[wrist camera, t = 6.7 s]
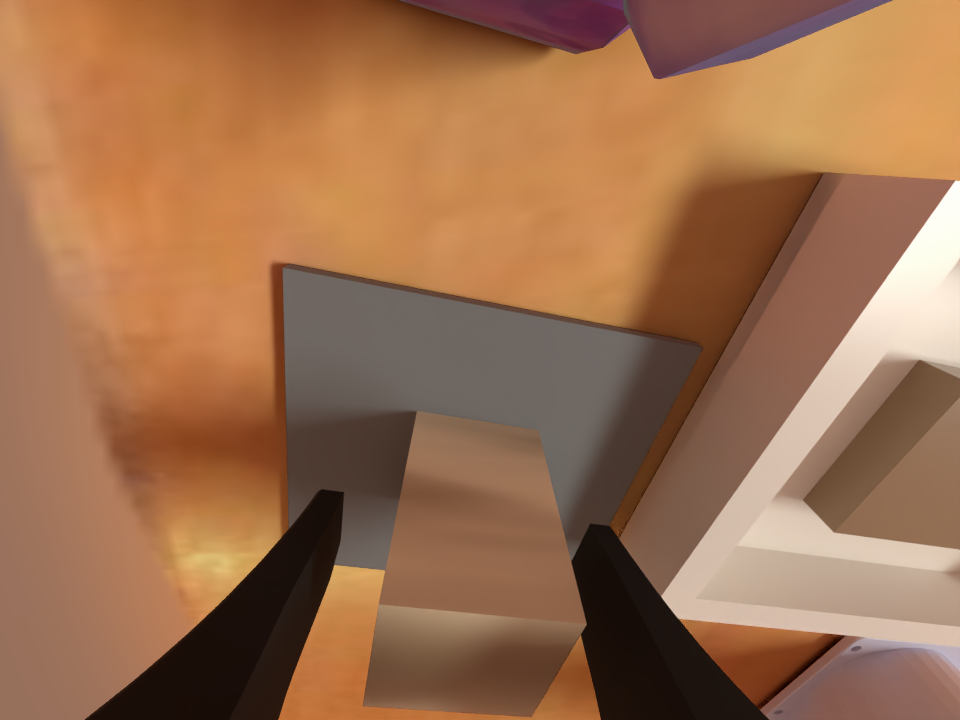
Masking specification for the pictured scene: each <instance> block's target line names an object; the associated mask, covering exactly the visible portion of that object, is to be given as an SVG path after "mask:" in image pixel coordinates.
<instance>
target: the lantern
mask: <svg viewBox="0 0 960 720" xmlns="http://www.w3.org/2000/svg"><path fill="white" fill-rule="evenodd" d="M399 1H402V2H406V3H409V4H412V5H415V6H419V7H422V8H425V9H429V10H432V11H435V12H439V13H442V14H445V15H448V16H452V17H455V18H458V19H462V20H465V21H468V22H472V23H475V24H478V25H481V26H485V27H488V28H491V29H495V30H498V31H501V32H504V33H508V34H511V35H514V36H518V37H521V38H524V39H528V40H531V41H534V42H537V43H541V44H544V45H547V46H551V47H554V48H557V49H561V50H564V51H567V52H570V53H574V54H578V53H582V52H586V51H591V50H595V49H599V48H603V47H604V46H606V45H607V44H609V43H610V42H611V41H613V40H614V39H616V38H617V37H618V36H620V35H621V34H623V33H624V32H625V31H627V30H628V29H629V28H631V29H632V31H633V33H634V36H635V38H636V40H637V42H638V44H639V46H640V49H641V51H642V53H643V55H644V57H645V60H646V62H647V64H648V66H649V68H650V70H651V73H652V75H653V77H654V78H655V79H663V78H667V77H671V76H675V75H680V74H684V73H688V72H692V71H697V70H701V69H705V68H709V67H714V66H718V65H723V64H728V63H732V62H737V61H741V60H746V59H750V58H754V57H756V56H758V55H761V54H763V53H766V52H768V51H771V50H773V49H775V48H778V47H780V46H783V45H785V44H788V43H790V42H792V41H795V40H797V39H800V38H802V37H805V36H807V35H809V34H812V33H814V32H817V31H819V30H822V29H824V28H826V27H829V26H831V25H834V24H836V23H839V22H841V21H843V20H846V19H848V18H851V17H853V16H856V15H858V14H860V13H863V12H865V11H868V10H870V9H873V8H875V7H877V6H880V5H882V4H885V3H887V2H890V1H892V0H399Z"/></svg>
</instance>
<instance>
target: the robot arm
mask: <svg viewBox="0 0 960 720" xmlns="http://www.w3.org/2000/svg"><path fill="white" fill-rule="evenodd" d="M343 502H344V492H340V491H332V490H324V489H321V490H319V491H318V492H317V493H316V494H315V496H314V497H313V499H312V500H311V501H310V503H309V504H308V505H307V507H306V508H305V509H304V511H303V512H302V513H301V515H300V516H299V517H298V518H297V520H296V521H295V522H294V523H293V525H292V526H291V527H290V528H289V529H288V531H287V532H286V533H285V534H284V535H283V537H282V538H281V539H280V540H279V541H278V542H277V543H276V545H275V546H274V547H273V548H272V549H271V550H270V551H269V553H268V554H267V555H266V556H265V557H264V558H263V559H262V560H261V562H260V563H259V564H258V565H257V566H256V567H255V568H254V569H253V570H252V571H251V572H250V573H249V574H248V575H247V576H246V577H245V578H244V579H243V580H242V582H241V583H240V584H239V585H238V586H237V587H236V588H235V589H234V590H233V591H232V592H231V593H230V594H229V595H228V596H227V597H226V598H225V599H224V600H223V601H222V602H221V603H220V604H219V605H218V606H217V607H216V608H215V609H214V610H213V611H212V612H211V613H209V614H208V615H207V616H206V617H205V618H204V619H203V620H202V621H201V622H200V623H199V624H198V625H197V626H196V627H195V628H193V629H192V630H191V631H190V632H189V633H188V634H187V635H186V636H185V637H184V638H182V639H181V640H180V641H179V642H178V643H177V644H176V645H175V646H173V647H172V648H171V649H170V650H169V651H168V652H167V653H165V654H164V655H163V656H162V657H161V658H160V659H158V661H156V662H155V663H154V664H153V665H152V666H150V667H149V668H148V669H147V670H146V671H145V672H143V673H142V674H141V675H140V676H139V677H138V678H136V679H135V680H134V681H133V682H131V683H130V684H129V685H128V686H127V687H125V688H124V689H123V690H121V691H120V692H119V693H118V694H116V695H115V696H114V697H113V698H111V699H110V700H109V701H108V702H106V703H105V704H104V705H103V706H101V707H100V708H99V709H98V710H96V711H95V712H94V713H93V714H91V715H90V716H89V717H87V718H86V719H85V720H278V719H279V716H280V712H281V709H282V706H283V703H284V699H285V696H286V693H287V690H288V687H289V685H290V682H291V679H292V676H293V673H294V671H295V668H296V666H297V663H298V660H299V658H300V655H301V653H302V650H303V648H304V645H305V642H306V640H307V637H308V635H309V632H310V630H311V627H312V625H313V622H314V619H315V617H316V614H317V612H318V609H319V607H320V604H321V601H322V599H323V596H324V594H325V591H326V588H327V586H328V583H329V581H330V577H331V574H332V571H333V567H334V564H335V560H336V556H337V553H338V549H339V546H340V542H341V532H342V517H343ZM571 563H572V567H573V571H574V575H575V579H576V583H577V587H578V591H579V595H580V599H581V603H582V607H583V611H584V615H585V619H586V623H587V625H586V627H585V628H584V630H583V632H582V633H581V637H582V641H583V645H584V649H585V653H586V657H587V661H588V665H589V669H590V673H591V677H592V681H593V685H594V689H595V693H596V698H597V703H598V707H599V712H600V717H601V720H960V647H958V646H948V645H938V644H928V643H918V642H908V641H898V640H888V639H877V638H867V637H857V636H847V635H846V636H845V637H844V638H842V639H841V640H840V641H839V642H838V643H837V644H835V645H834V646H833V647H832V648H831V649H830V650H829V651H827V652H826V653H825V654H824V655H823V656H822V657H820V658H819V659H818V660H817V661H816V662H815V663H813V664H812V665H811V666H810V667H809V668H808V669H806V670H805V671H804V672H803V673H802V674H801V675H799V676H798V677H797V678H796V679H795V680H794V681H792V682H791V683H790V684H789V685H788V686H787V687H786V688H784V689H783V690H782V691H781V692H780V693H779V694H777V695H776V696H775V697H774V698H773V699H772V700H770V701H769V702H768V703H767V704H766V705H765V706H763V707H762V708H761V709H760V710H759V709H758V708H757V707H756V706H755V705H754V704H753V703H752V702H751V701H750V700H749V699H748V698H747V697H746V695H745V694H744V693H743V692H742V691H741V690H740V689H739V688H738V687H737V686H736V685H735V684H734V683H733V682H732V681H731V679H730V678H729V677H728V676H727V675H726V674H725V673H724V672H723V671H722V670H721V668H720V667H719V666H718V665H717V664H716V663H715V662H714V661H713V660H712V659H711V657H710V656H709V655H708V654H707V653H706V652H705V650H704V649H703V648H702V647H701V646H700V645H699V643H698V642H697V641H696V640H695V639H694V637H693V636H692V635H691V634H690V633H689V631H688V630H687V629H686V628H685V626H684V625H683V624H682V623H681V622H680V620H679V619H678V618H677V617H676V615H675V614H674V613H673V612H672V610H671V609H670V608H669V606H668V605H667V604H666V603H665V601H664V600H663V599H662V597H661V596H660V595H659V593H658V592H657V591H656V589H655V588H654V587H653V585H652V584H651V583H650V581H649V580H648V579H647V577H646V576H645V574H644V573H643V572H642V570H641V569H640V568H639V566H638V565H637V563H636V562H635V561H634V559H633V558H632V556H631V555H630V554H629V552H628V551H627V549H626V548H625V547H624V545H623V544H622V542H621V541H620V540H619V538H618V537H617V535H616V534H615V533H614V531H613V530H612V529H611V527H610V526H606V525H599V524H591V523H590V525H589V527H588V529H587V531H586V533H585V535H584V537H583V539H582V541H581V543H580V545H579V547H578V549H577V551H576V553H575V555H574V557H573V559H572V561H571Z"/></svg>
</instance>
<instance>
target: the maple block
mask: <svg viewBox="0 0 960 720" xmlns="http://www.w3.org/2000/svg"><path fill="white" fill-rule="evenodd" d="M586 625H587V623H586V619H585V615H584V611H583V607H582V603H581V599H580V595H579V591H578V587H577V583H576V579H575V575H574V571H573V567H572V563H571V559H570V555H569V551H568V547H567V543H566V539H565V535H564V531H563V527H562V523H561V519H560V515H559V511H558V507H557V503H556V499H555V495H554V491H553V487H552V483H551V479H550V475H549V471H548V467H547V463H546V459H545V455H544V451H543V447H542V443H541V439H540V435H539V431H538V430H535V429H529V428H522V427H516V426H510V425H503V424H497V423H490V422H484V421H478V420H471V419H465V418H459V417H452V416H446V415H440V414H433V413H427V412H421V411H417V414H416V419H415V424H414V429H413V434H412V439H411V444H410V449H409V454H408V459H407V464H406V469H405V474H404V479H403V484H402V489H401V495H400V500H399V505H398V510H397V515H396V520H395V525H394V530H393V535H392V540H391V545H390V550H389V555H388V560H387V565H386V570H385V575H384V581H383V586H382V591H381V596H380V601H379V606H378V613H377V619H376V625H375V632H374V638H373V644H372V651H371V657H370V663H369V670H368V676H367V682H366V689H365V695H364V702H363V706H368V707H383V708H399V709H414V710H429V711H445V712H460V713H476V714H491V715H507V716H522V717H532V715H533V714H534V712H535V710H536V708H537V707H538V705H539V703H540V702H541V700H542V698H543V697H544V695H545V693H546V692H547V690H548V688H549V687H550V685H551V683H552V682H553V680H554V678H555V677H556V675H557V673H558V672H559V670H560V668H561V667H562V665H563V663H564V662H565V660H566V658H567V657H568V655H569V653H570V652H571V650H572V648H573V647H574V645H575V643H576V642H577V640H578V638H579V637H580V635H581V633H582V632H583V630H584V628H585V627H586Z"/></svg>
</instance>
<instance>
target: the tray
mask: <svg viewBox="0 0 960 720" xmlns="http://www.w3.org/2000/svg"><path fill="white" fill-rule="evenodd" d="M619 540H620V541H621V542H622V544H623V545H624V547H625V548H626V549H627V551H628V552H629V554H630V555H631V556H632V558H633V559H634V561H635V562H636V563H637V565H638V566H639V568H640V569H641V570H642V572H643V573H644V574H645V576H646V577H647V579H648V580H649V581H650V583H651V584H652V585H653V587H654V588H655V589H656V591H657V592H658V593H659V595H660V596H661V597H662V599H663V600H664V601H665V603H666V604H667V605H668V606H669V608H670V609H671V610H672V612H673V613H674V614H675V615H676V617H677V618H678V619H687V620H697V621H707V622H717V623H727V624H737V625H747V626H757V627H767V628H777V629H787V630H797V631H807V632H817V633H827V634H837V635H847V636H857V637H867V638H877V639H888V640H898V641H908V642H918V643H928V644H938V645H948V646H958V647H960V181H956V180H941V179H924V178H908V177H892V176H875V175H859V174H843V173H826V172H824V174H823V176H822V177H821V179H820V181H819V183H818V185H817V186H816V188H815V190H814V192H813V193H812V195H811V197H810V199H809V201H808V202H807V204H806V206H805V208H804V209H803V211H802V213H801V215H800V217H799V218H798V220H797V222H796V224H795V226H794V227H793V229H792V231H791V233H790V234H789V236H788V238H787V240H786V242H785V243H784V245H783V247H782V249H781V251H780V252H779V254H778V256H777V258H776V259H775V261H774V263H773V265H772V267H771V268H770V270H769V272H768V274H767V275H766V277H765V279H764V281H763V283H762V284H761V286H760V288H759V290H758V292H757V293H756V295H755V297H754V299H753V300H752V302H751V304H750V306H749V308H748V309H747V311H746V313H745V315H744V317H743V318H742V320H741V322H740V324H739V325H738V327H737V329H736V331H735V333H734V334H733V336H732V338H731V340H730V341H729V343H728V345H727V347H726V349H725V350H724V352H723V354H722V356H721V358H720V359H719V361H718V363H717V365H716V366H715V368H714V370H713V372H712V374H711V375H710V377H709V379H708V381H707V383H706V384H705V386H704V388H703V390H702V391H701V393H700V395H699V397H698V399H697V400H696V402H695V404H694V406H693V407H692V409H691V411H690V413H689V415H688V416H687V418H686V420H685V422H684V424H683V425H682V427H681V429H680V431H679V432H678V434H677V436H676V438H675V440H674V441H673V443H672V445H671V447H670V449H669V450H668V452H667V454H666V456H665V457H664V459H663V461H662V463H661V465H660V466H659V468H658V470H657V472H656V473H655V475H654V477H653V479H652V481H651V482H650V484H649V486H648V488H647V490H646V491H645V493H644V495H643V497H642V498H641V500H640V502H639V504H638V506H637V507H636V509H635V511H634V513H633V515H632V516H631V518H630V520H629V522H628V523H627V525H626V527H625V529H624V531H623V532H622V534H621V536H620V538H619Z"/></svg>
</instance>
